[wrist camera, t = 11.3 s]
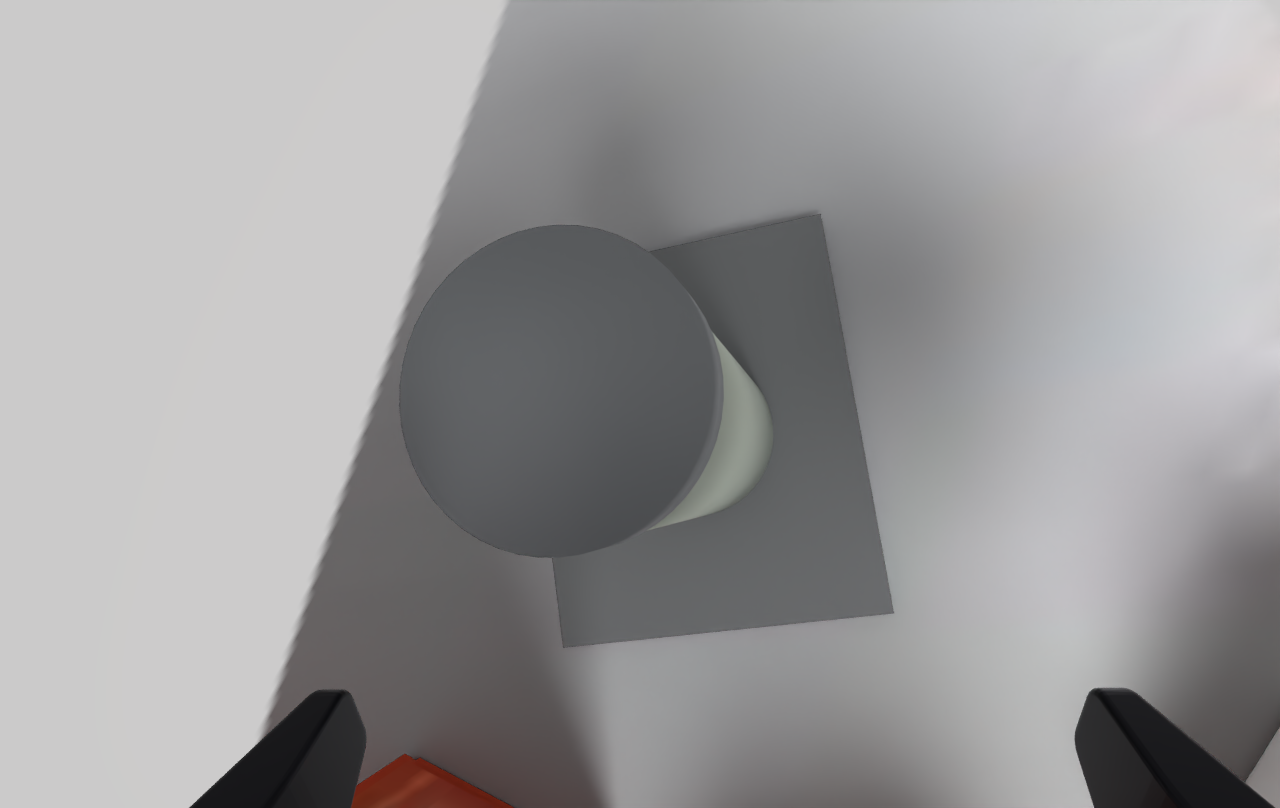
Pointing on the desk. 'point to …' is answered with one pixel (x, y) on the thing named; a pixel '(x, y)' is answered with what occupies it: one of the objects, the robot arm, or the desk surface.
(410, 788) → the file binder
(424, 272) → the desk surface
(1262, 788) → the medicine bottle
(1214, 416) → the desk surface
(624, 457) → the tin canister
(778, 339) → the charcoal pad
